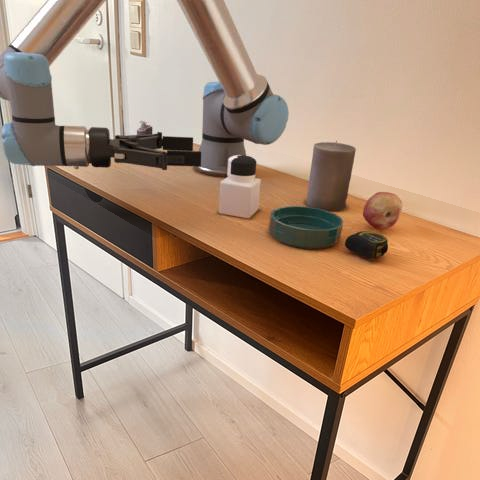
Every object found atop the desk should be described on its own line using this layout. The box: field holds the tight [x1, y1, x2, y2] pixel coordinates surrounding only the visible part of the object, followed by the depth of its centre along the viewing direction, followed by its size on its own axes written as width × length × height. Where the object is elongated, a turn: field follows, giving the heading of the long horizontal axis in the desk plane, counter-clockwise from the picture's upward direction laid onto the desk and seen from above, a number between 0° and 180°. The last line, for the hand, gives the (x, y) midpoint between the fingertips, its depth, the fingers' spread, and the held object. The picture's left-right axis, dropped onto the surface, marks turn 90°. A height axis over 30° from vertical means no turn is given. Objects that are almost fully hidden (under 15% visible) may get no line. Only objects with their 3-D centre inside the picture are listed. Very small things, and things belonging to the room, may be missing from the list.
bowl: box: [268, 205, 344, 250], centre depth 99 cm, size 14×14×4 cm
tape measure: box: [344, 230, 389, 261], centre depth 92 cm, size 7×7×4 cm
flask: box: [136, 120, 153, 135], centre depth 141 cm, size 9×3×11 cm, turn 172°
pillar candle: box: [305, 140, 357, 212], centre depth 115 cm, size 10×10×15 cm
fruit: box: [362, 191, 404, 231], centre depth 105 cm, size 8×8×8 cm
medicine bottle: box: [218, 155, 262, 219], centre depth 107 cm, size 7×7×12 cm
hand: (196, 151), depth 101 cm, fingers open, 13 cm apart
